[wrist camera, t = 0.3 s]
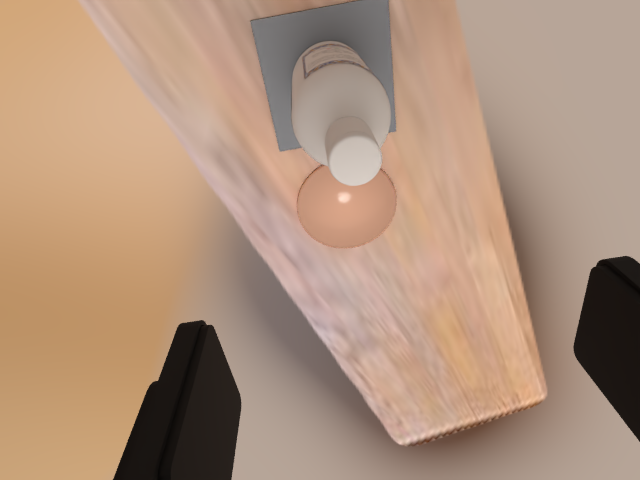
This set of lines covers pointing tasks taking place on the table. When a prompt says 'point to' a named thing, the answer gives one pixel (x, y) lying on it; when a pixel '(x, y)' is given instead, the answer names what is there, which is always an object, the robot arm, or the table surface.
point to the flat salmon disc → (345, 209)
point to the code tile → (314, 27)
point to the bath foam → (339, 111)
